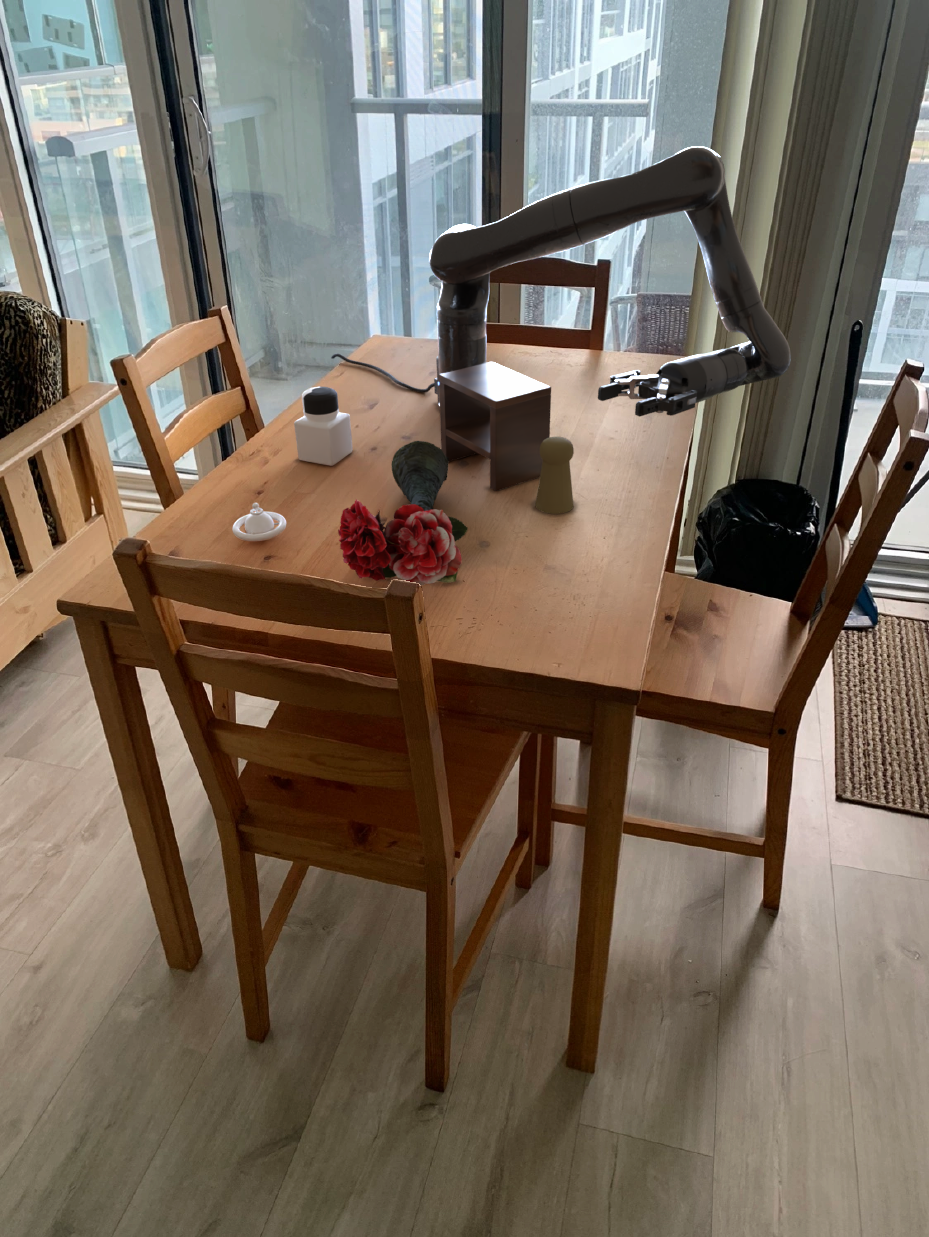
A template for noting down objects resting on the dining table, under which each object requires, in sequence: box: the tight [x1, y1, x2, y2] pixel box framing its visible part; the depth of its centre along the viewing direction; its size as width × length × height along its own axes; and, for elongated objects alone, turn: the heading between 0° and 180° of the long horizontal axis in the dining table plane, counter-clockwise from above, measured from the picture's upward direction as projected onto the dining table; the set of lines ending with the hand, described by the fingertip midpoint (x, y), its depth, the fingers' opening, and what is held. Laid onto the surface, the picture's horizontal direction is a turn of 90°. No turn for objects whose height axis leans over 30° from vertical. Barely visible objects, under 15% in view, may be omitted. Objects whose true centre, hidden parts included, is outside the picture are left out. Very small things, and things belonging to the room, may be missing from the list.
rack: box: [439, 361, 552, 492], centre depth 156 cm, size 16×11×15 cm
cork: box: [534, 436, 575, 515], centre depth 145 cm, size 6×6×11 cm
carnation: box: [337, 440, 469, 586], centre depth 135 cm, size 16×18×35 cm
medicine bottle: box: [293, 386, 354, 467], centre depth 162 cm, size 7×7×12 cm
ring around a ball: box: [232, 502, 287, 542], centre depth 139 cm, size 8×6×8 cm
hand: (617, 402), depth 146 cm, fingers open, 8 cm apart
